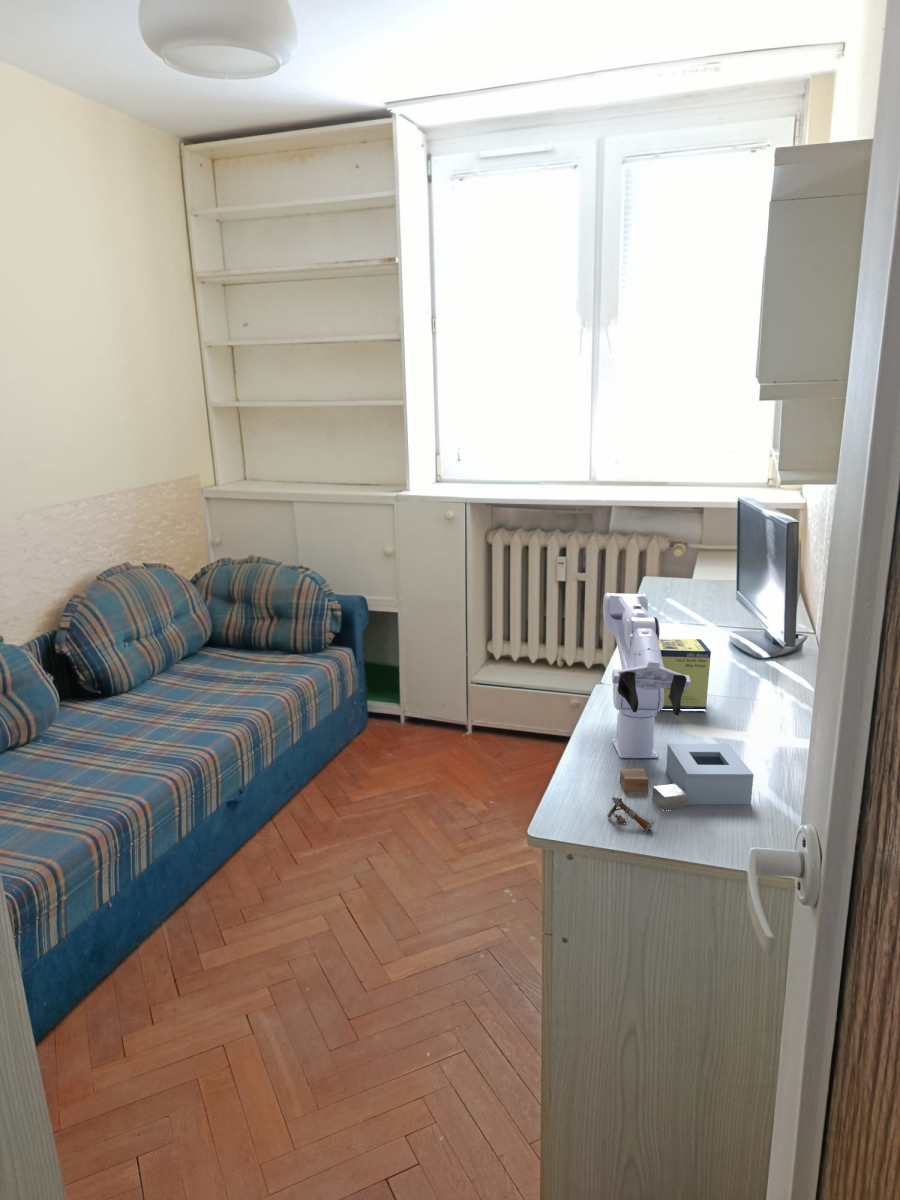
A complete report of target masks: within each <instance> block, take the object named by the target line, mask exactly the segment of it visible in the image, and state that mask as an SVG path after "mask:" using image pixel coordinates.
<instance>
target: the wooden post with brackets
mask: <svg viewBox="0 0 900 1200" xmlns="http://www.w3.org/2000/svg"><path fill="white" fill-rule="evenodd" d="M611 800H612V803H613V804H614V805H613V807H612V808H611V809H610V811H609V812H608V814H607V818H610V819H611V818H612V816H614V818H615V821H616V822H619V823H620V824H621V823H622V824H623V823H625V824H624V825H627V824H626V823H627V821H626V818H625V817H623V816H622V814H618V813H617V814H616V813H615V812H616V811H621V810H622V811H624V814H625V815H626V816H628V817H629V818H631V819H632V820H634V821H635V822H637V824H638V825H639V826H641V828H642V829H643V830H644V831H643V832H644V833H645V832H646V833H647V832H648V831H649V830H650V829H651V828H652V826H653V825H654V824H655V822H654V821H651V822H650V821H648V820H647V819H645V818H643V817H641V816H639V815H638V813H637V812H636V811H634V810H633V809H632V808H631V807H630V806H628V805H626V804H625V803H624V801H623V799H622V797H619V796H617V797H616V796H613V797H612V798H611ZM649 828H650V829H649Z"/></svg>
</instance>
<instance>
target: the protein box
mask: <svg viewBox="0 0 900 1200" xmlns="http://www.w3.org/2000/svg"><path fill="white" fill-rule="evenodd" d="M659 646H660V651H661V656H662V660H663V665H664V668H667V669H669V670H672V671H674V672H677V673H680V674H683V675H689V677H690V681H691V683H690V687H689V689H684V690H683V694H682V697H681V709H706V710H707V701H708V690H709V679H710V678H709V677H710V676H709V675H710V668H711V667H710V666H711V653H712V651H711V650H710V648H708V646H707V645H706V644H705V642H703V640H702V639H699V638H659ZM670 688H671V687H667V688H664V705H663V708H662V709H673V706H672V703H671V700H670V699H669V694H670Z"/></svg>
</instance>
